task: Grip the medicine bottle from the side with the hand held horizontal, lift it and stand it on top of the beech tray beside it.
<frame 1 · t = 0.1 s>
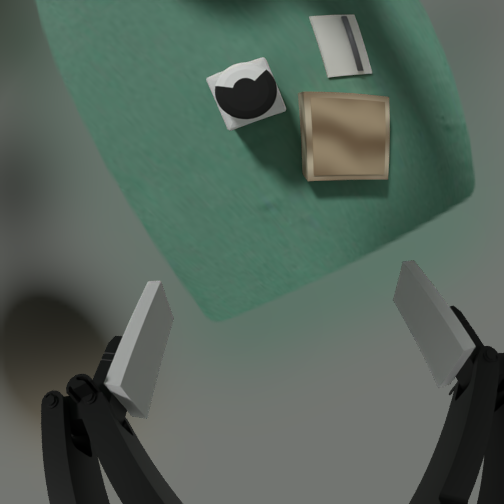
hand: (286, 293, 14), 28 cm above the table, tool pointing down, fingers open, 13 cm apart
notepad: (340, 45, 29), on the table
medicine bottle: (247, 96, 33), on the table
beech tray: (341, 133, 35), on the table
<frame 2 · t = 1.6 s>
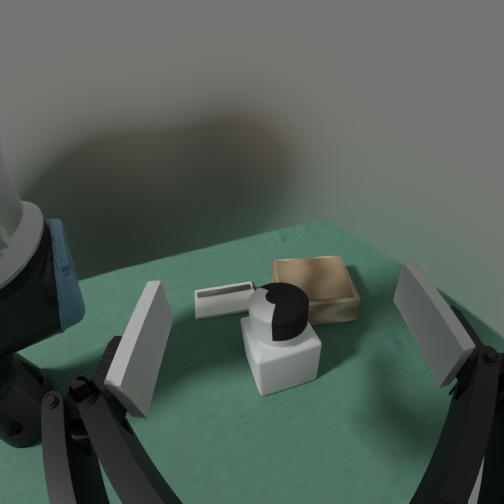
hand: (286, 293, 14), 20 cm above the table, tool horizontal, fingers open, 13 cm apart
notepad: (225, 303, 45), on the table
medicine bottle: (279, 368, 32), on the table
beech tray: (311, 298, 43), on the table
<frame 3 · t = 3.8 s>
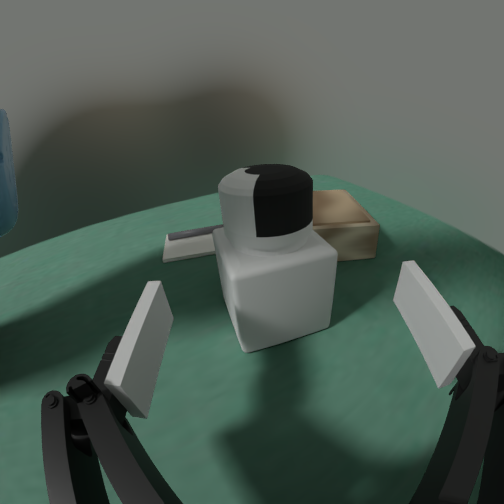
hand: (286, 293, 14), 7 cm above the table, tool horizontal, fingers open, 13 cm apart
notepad: (203, 246, 35), on the table
medicine bottle: (273, 315, 23), on the table
beech tray: (313, 236, 34), on the table
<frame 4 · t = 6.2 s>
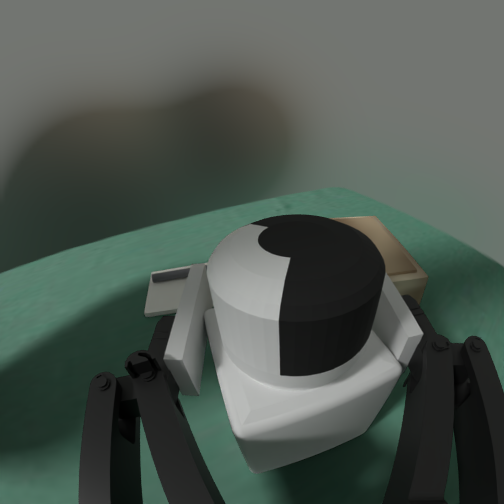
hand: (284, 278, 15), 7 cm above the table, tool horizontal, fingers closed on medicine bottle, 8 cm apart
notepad: (197, 291, 27), on the table
medicine bottle: (291, 412, 15), on the table, touching gripper
beech tray: (337, 281, 26), on the table
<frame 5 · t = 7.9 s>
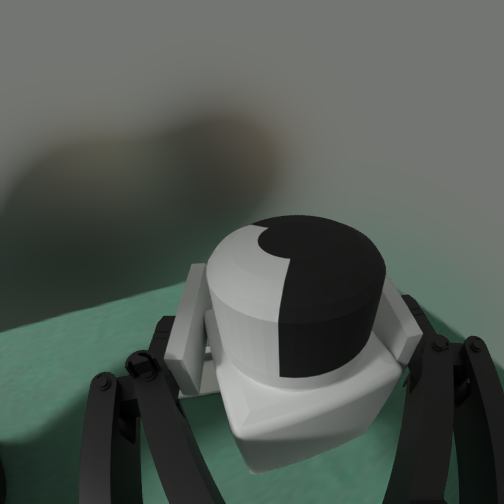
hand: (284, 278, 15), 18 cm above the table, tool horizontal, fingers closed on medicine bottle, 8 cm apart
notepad: (189, 376, 30), on the table
medicine bottle: (291, 413, 15), point 11 cm above the table, touching gripper
when the fingers open (12 cm above the table, at t = 9.9 s): medicine bottle drops 1 cm, resting on beech tray.
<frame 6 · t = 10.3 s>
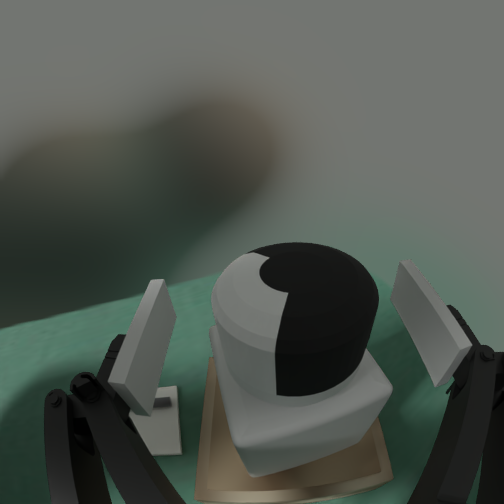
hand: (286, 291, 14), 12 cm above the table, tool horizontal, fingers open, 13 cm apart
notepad: (130, 424, 19), on the table
medicine bottle: (290, 420, 15), point 4 cm above the table, touching beech tray
beech tray: (289, 438, 18), on the table
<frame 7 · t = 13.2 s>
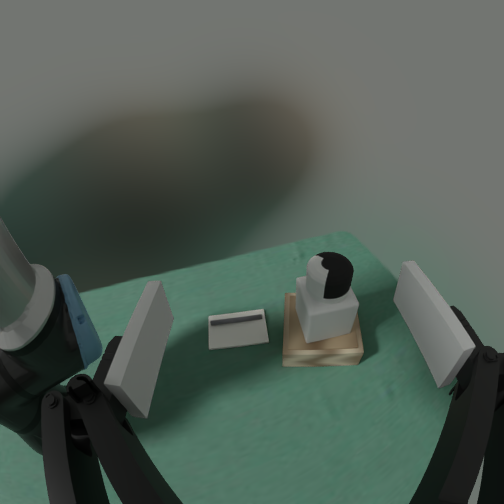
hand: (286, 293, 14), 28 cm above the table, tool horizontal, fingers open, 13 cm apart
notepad: (237, 331, 46), on the table
medicine bottle: (322, 321, 41), point 4 cm above the table, touching beech tray
beech tray: (319, 335, 43), on the table
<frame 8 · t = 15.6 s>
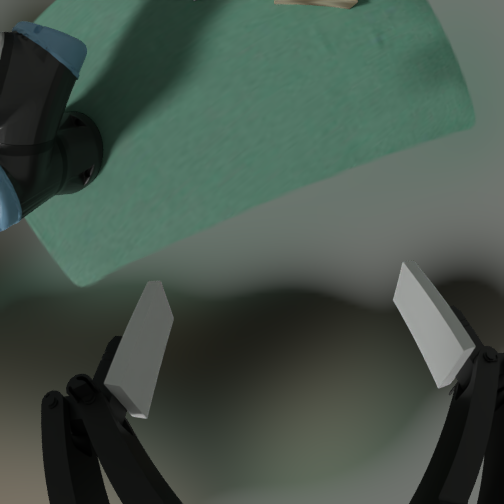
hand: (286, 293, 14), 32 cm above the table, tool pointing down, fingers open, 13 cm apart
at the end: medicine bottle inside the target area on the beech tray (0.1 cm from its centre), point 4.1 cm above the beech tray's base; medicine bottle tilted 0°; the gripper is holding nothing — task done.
